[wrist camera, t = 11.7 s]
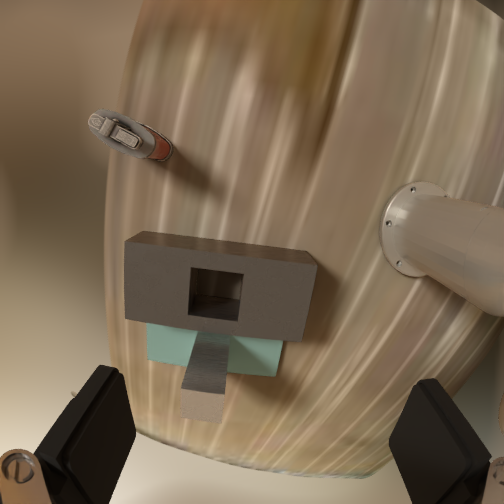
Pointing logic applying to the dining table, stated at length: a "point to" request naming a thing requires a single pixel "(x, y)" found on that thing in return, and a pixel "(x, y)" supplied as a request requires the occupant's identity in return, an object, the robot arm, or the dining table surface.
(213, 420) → the peg
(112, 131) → the lighter
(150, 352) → the mat
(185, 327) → the rail
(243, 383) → the dining table surface
